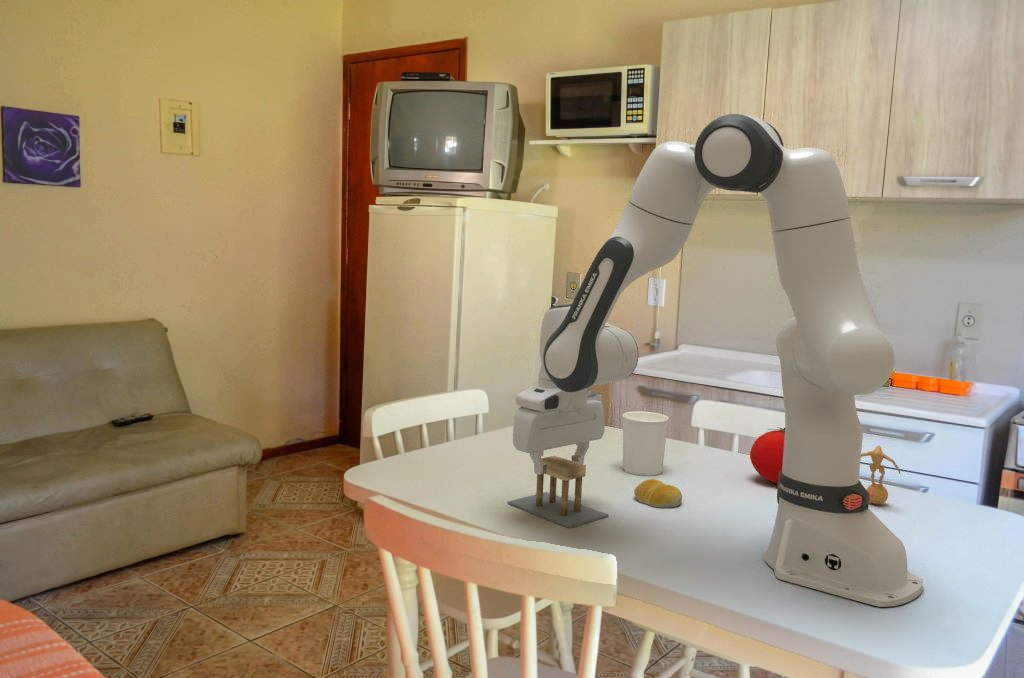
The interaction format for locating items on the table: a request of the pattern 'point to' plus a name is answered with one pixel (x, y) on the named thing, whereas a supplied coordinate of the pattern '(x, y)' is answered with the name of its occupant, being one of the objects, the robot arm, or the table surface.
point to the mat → (558, 511)
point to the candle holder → (644, 442)
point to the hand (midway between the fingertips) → (559, 469)
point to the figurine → (880, 490)
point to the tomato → (769, 454)
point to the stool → (564, 472)
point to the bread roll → (658, 494)
